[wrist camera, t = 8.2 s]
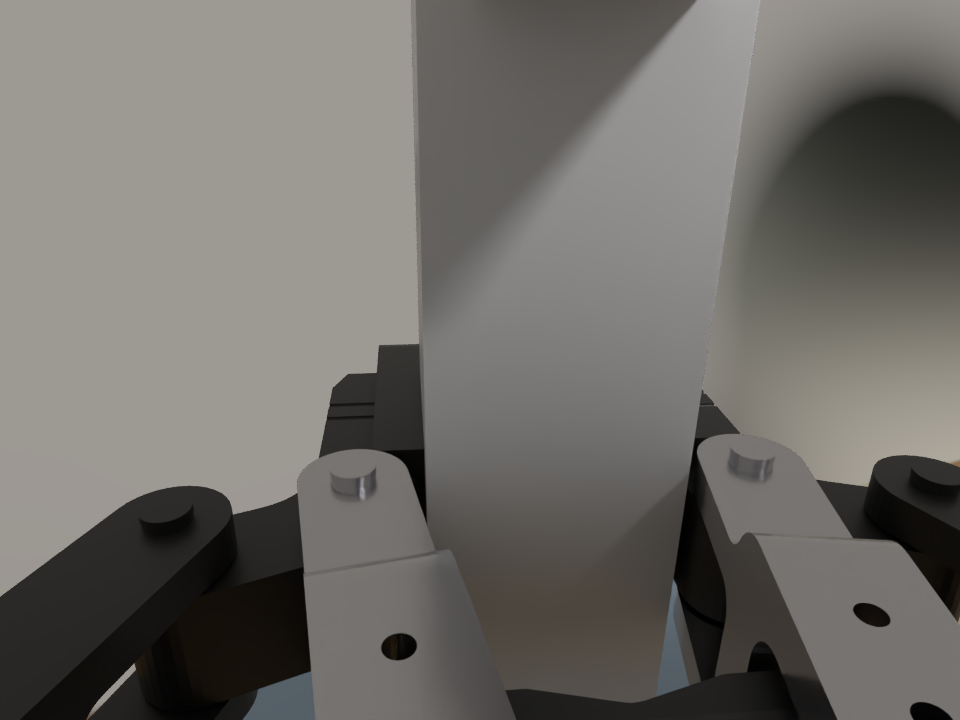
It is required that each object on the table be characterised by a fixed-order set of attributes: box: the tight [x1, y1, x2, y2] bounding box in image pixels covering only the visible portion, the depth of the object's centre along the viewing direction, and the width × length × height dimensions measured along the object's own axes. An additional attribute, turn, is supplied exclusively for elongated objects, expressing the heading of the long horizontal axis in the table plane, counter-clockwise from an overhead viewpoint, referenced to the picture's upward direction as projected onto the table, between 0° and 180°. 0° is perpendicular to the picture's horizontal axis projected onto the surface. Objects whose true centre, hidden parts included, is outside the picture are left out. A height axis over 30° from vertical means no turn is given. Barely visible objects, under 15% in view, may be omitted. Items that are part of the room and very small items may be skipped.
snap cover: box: [243, 0, 760, 720], centre depth 10 cm, size 11×11×16 cm
